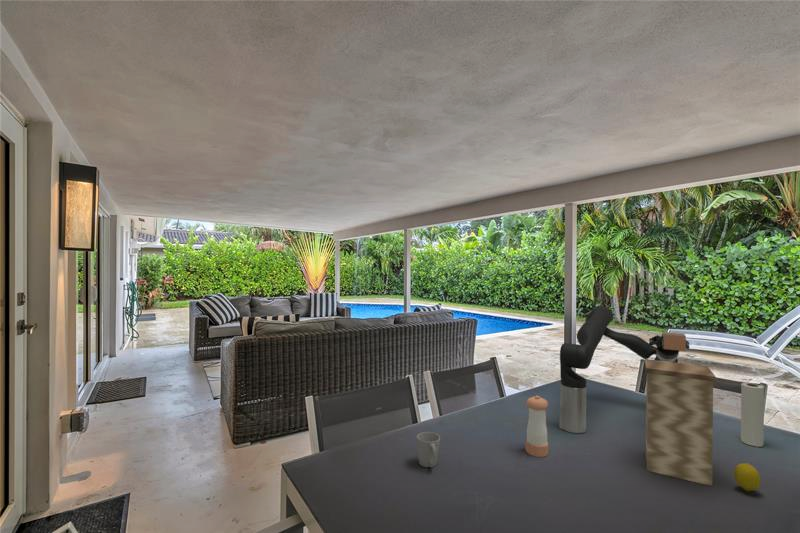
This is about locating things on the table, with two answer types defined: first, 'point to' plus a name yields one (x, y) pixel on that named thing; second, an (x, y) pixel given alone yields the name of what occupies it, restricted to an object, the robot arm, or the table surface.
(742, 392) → the paper towel roll
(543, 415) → the pepper shaker
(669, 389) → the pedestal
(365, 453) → the table surface
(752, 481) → the lemon
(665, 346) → the gray and brown block
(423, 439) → the cup
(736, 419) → the table surface
